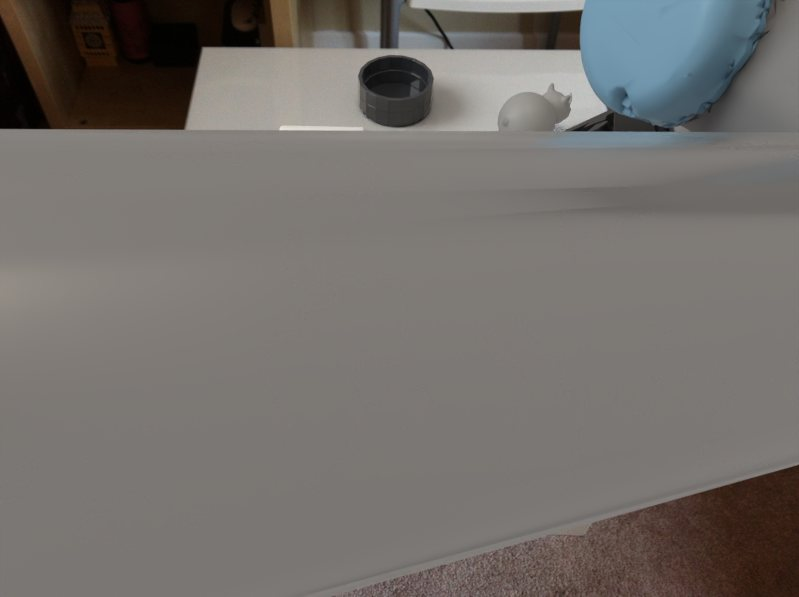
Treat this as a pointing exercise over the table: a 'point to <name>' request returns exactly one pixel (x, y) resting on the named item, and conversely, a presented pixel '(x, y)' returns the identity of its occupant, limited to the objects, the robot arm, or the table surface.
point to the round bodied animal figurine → (534, 111)
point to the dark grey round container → (395, 90)
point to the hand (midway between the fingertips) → (475, 191)
